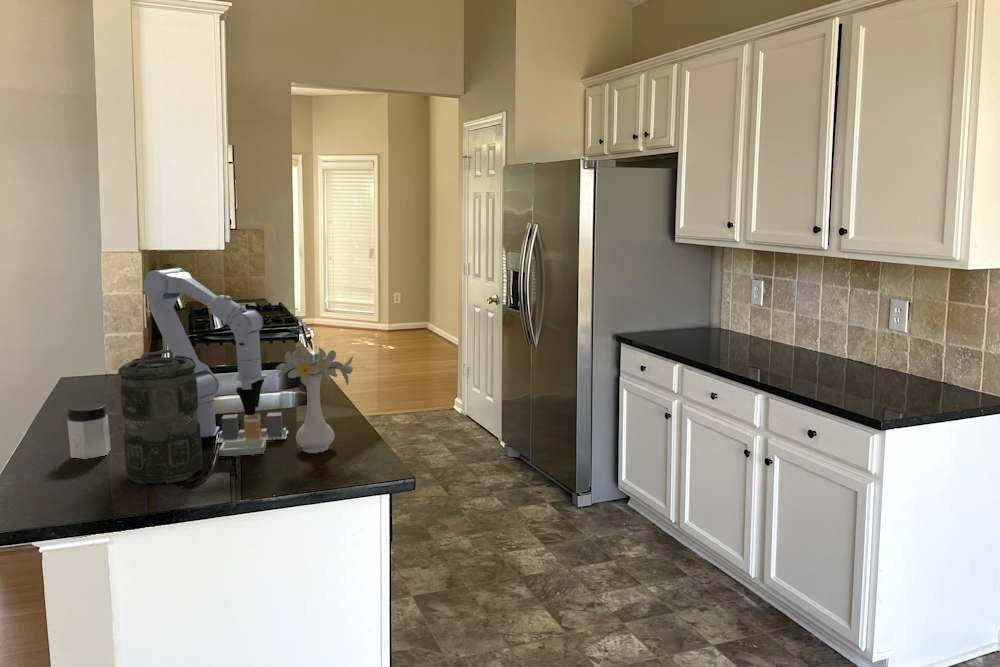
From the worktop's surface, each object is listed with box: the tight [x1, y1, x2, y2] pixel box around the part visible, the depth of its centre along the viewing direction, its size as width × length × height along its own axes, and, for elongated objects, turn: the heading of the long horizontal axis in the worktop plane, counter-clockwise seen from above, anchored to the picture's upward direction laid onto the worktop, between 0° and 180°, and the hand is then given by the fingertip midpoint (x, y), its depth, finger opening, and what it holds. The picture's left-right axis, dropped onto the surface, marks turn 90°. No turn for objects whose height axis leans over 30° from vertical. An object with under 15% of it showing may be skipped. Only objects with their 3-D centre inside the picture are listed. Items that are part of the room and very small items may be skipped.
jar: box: [66, 402, 112, 459], centre depth 196 cm, size 9×8×12 cm
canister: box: [117, 349, 203, 486], centre depth 181 cm, size 16×16×28 cm
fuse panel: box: [216, 411, 289, 444], centre depth 209 cm, size 17×7×6 cm, turn 100°
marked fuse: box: [243, 412, 262, 438], centre depth 209 cm, size 4×4×6 cm
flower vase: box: [275, 347, 354, 454], centre depth 199 cm, size 13×18×25 cm
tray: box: [218, 439, 268, 457], centre depth 199 cm, size 10×7×2 cm
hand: (252, 410), depth 209 cm, fingers open, 7 cm apart
